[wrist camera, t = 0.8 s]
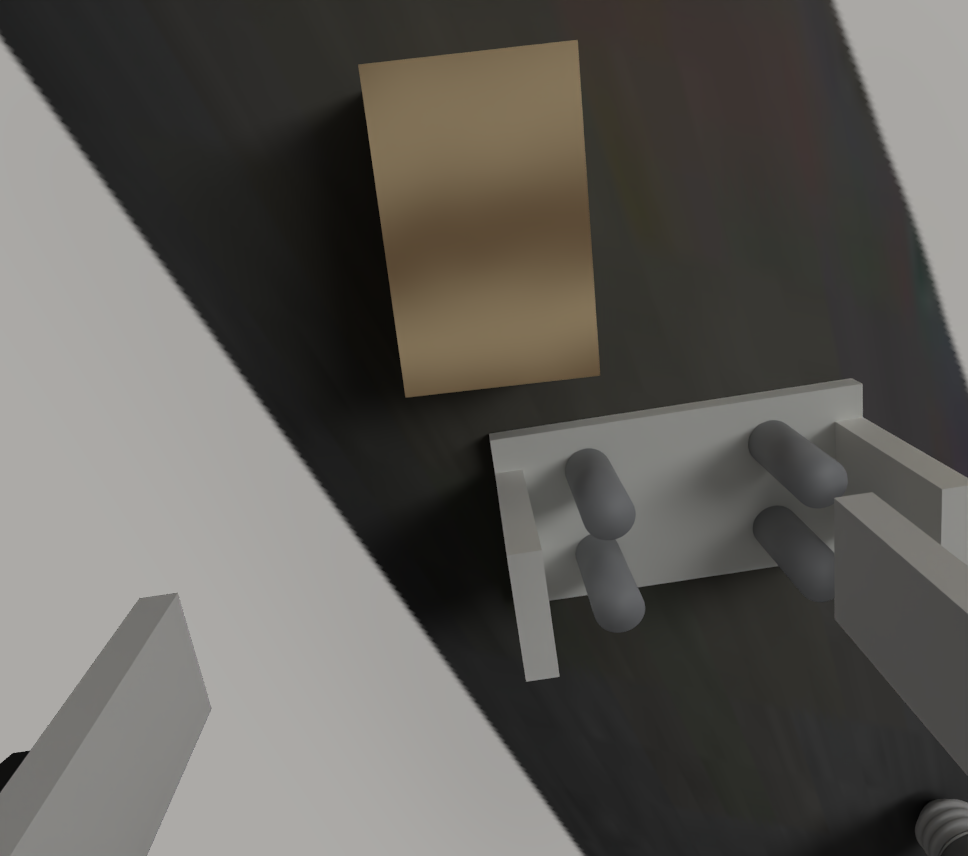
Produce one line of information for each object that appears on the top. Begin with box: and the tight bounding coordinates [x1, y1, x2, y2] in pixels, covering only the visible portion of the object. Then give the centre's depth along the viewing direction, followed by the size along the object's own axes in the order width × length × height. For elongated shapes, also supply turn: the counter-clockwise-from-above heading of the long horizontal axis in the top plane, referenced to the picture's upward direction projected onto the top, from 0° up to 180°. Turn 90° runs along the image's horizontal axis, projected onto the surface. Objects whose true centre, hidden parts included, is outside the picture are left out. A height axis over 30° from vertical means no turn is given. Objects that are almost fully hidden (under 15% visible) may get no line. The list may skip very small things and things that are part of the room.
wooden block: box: [358, 40, 600, 398], centre depth 30 cm, size 11×7×6 cm, turn 6°
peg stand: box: [489, 378, 968, 682], centre depth 32 cm, size 8×16×9 cm, turn 99°
